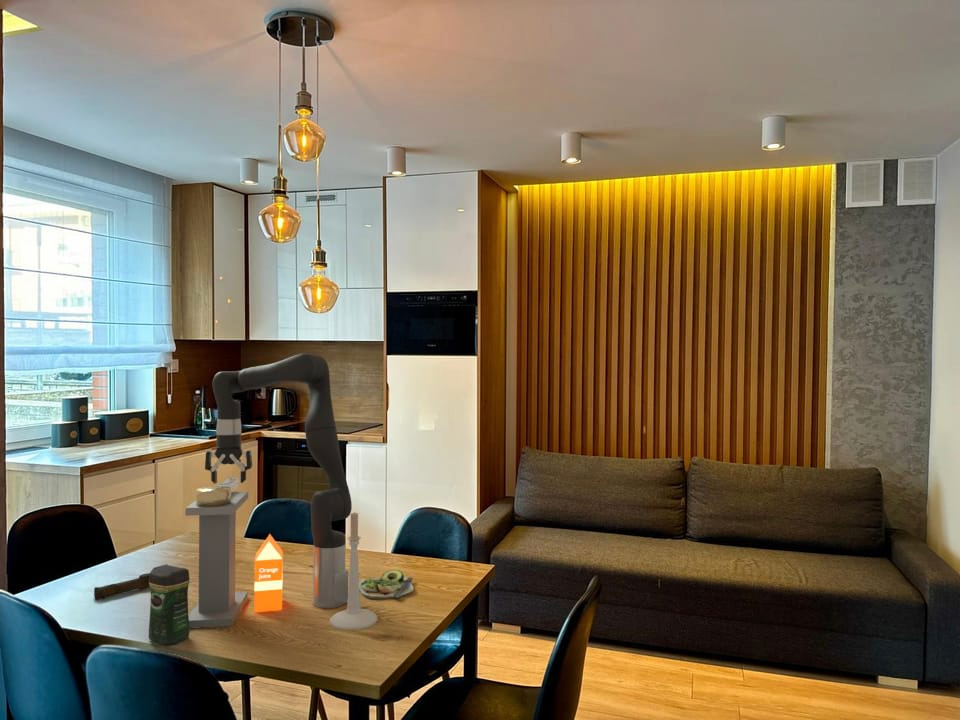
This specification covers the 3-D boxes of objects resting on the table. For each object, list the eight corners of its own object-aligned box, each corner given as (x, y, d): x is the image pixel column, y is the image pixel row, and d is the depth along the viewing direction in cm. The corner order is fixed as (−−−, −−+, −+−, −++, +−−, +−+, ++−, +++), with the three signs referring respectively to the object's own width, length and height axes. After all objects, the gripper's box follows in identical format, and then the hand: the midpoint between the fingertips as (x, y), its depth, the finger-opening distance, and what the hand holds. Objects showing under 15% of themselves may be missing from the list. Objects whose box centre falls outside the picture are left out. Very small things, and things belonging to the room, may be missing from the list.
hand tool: (97, 602, 202) (97, 586, 202) (93, 599, 205) (93, 583, 205) (163, 587, 216) (163, 572, 216) (158, 584, 219) (158, 570, 219)
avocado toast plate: (423, 600, 206) (423, 584, 206) (363, 605, 201) (363, 590, 201) (410, 580, 225) (410, 566, 225) (355, 585, 219) (355, 570, 219)
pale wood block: (218, 486, 213) (218, 473, 213) (248, 486, 215) (248, 473, 215) (191, 507, 183) (192, 492, 183) (227, 506, 184) (227, 491, 184)
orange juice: (253, 612, 194) (254, 541, 194) (255, 601, 203) (255, 534, 203) (282, 609, 196) (283, 540, 196) (282, 599, 205) (283, 532, 205)
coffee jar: (195, 637, 176) (195, 565, 176) (167, 648, 169) (168, 573, 169) (170, 630, 181) (170, 559, 181) (142, 640, 174) (143, 567, 174)
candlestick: (326, 615, 192) (327, 508, 192) (371, 610, 196) (372, 505, 197) (333, 632, 180) (334, 518, 180) (381, 626, 184) (382, 515, 185)
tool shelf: (205, 599, 204) (206, 492, 204) (247, 598, 206) (248, 491, 206) (184, 628, 182) (185, 508, 182) (231, 626, 184) (232, 506, 184)
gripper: (253, 431, 227) (253, 480, 227) (209, 431, 225) (208, 481, 225) (249, 433, 220) (249, 484, 220) (202, 434, 218) (202, 485, 218)
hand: (228, 482), depth 222 cm, fingers open, 8 cm apart
